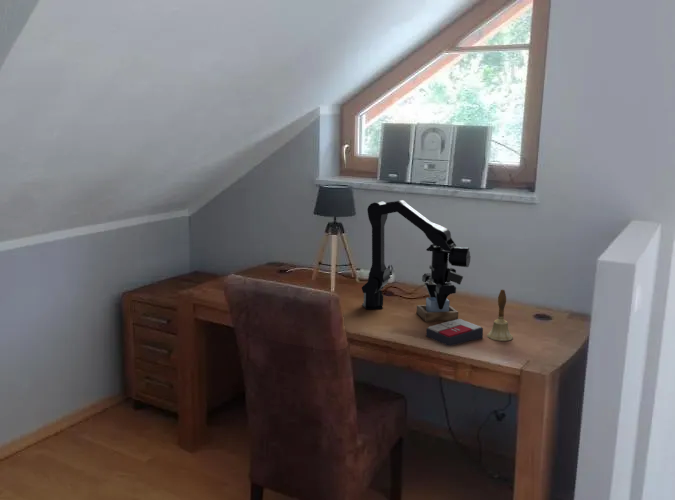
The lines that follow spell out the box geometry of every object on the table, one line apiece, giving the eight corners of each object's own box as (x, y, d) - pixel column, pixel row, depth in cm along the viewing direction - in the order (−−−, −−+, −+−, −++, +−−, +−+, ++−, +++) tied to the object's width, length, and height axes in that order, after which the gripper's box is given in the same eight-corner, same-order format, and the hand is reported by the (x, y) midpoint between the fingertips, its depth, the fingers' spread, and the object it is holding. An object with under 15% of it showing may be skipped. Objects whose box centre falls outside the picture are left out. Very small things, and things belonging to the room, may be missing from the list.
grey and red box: (425, 326, 217) (459, 316, 225) (425, 338, 218) (459, 328, 226) (449, 335, 208) (483, 325, 216) (449, 348, 209) (483, 338, 217)
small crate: (430, 317, 235) (430, 301, 234) (425, 313, 240) (426, 297, 239) (448, 316, 236) (449, 300, 235) (443, 312, 241) (444, 296, 240)
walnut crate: (425, 321, 232) (426, 313, 232) (416, 313, 242) (416, 305, 241) (457, 320, 235) (458, 311, 234) (447, 311, 244) (448, 303, 244)
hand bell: (482, 337, 218) (485, 290, 214) (494, 331, 224) (498, 285, 220) (505, 343, 212) (508, 295, 209) (517, 337, 218) (521, 290, 215)
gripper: (471, 269, 227) (468, 313, 230) (451, 257, 245) (449, 298, 248) (440, 270, 225) (438, 314, 228) (422, 258, 242) (420, 299, 246)
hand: (437, 306), depth 237 cm, fingers open, 7 cm apart
